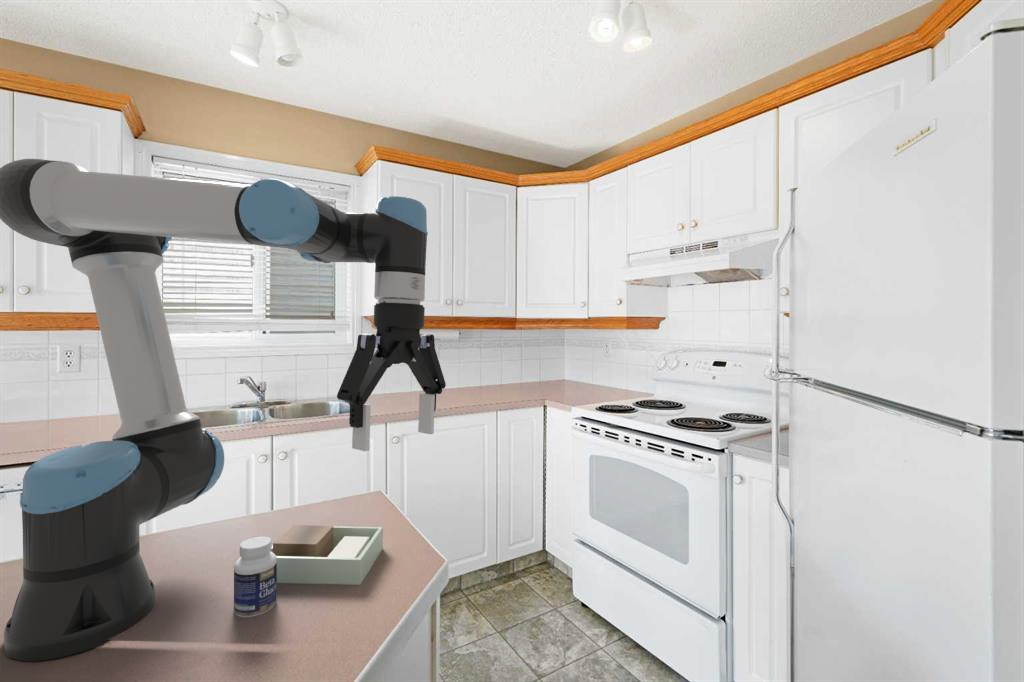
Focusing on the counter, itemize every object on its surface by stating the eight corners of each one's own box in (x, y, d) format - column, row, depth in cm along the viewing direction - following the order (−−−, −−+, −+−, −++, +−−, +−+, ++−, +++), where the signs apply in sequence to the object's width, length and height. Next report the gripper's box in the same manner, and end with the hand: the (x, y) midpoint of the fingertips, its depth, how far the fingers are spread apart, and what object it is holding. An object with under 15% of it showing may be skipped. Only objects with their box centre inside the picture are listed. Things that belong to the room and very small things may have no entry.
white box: (325, 576, 76) (325, 558, 76) (344, 553, 84) (344, 536, 84) (353, 577, 76) (353, 559, 76) (369, 553, 84) (369, 536, 84)
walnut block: (272, 573, 76) (272, 543, 76) (293, 553, 83) (293, 525, 83) (316, 575, 76) (316, 544, 76) (333, 554, 83) (333, 526, 83)
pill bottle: (264, 621, 65) (264, 551, 65) (225, 620, 65) (225, 550, 65) (283, 599, 70) (283, 534, 70) (247, 598, 71) (247, 533, 70)
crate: (258, 585, 74) (258, 557, 74) (294, 549, 86) (294, 525, 86) (360, 588, 74) (360, 559, 73) (382, 551, 86) (382, 527, 85)
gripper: (349, 296, 60) (345, 463, 61) (468, 307, 81) (464, 430, 82) (312, 296, 64) (308, 453, 65) (435, 306, 85) (431, 424, 86)
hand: (395, 440), depth 73 cm, fingers open, 13 cm apart
